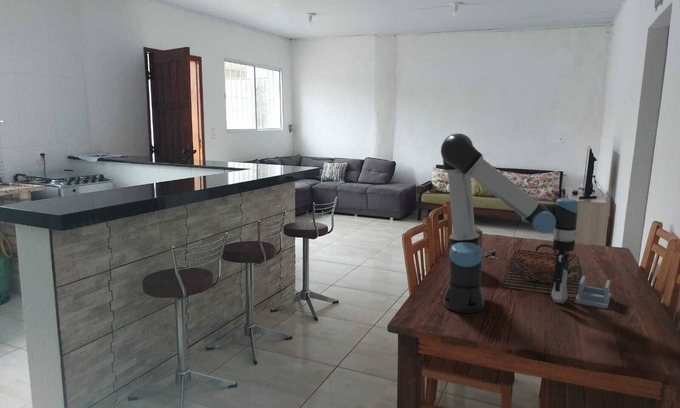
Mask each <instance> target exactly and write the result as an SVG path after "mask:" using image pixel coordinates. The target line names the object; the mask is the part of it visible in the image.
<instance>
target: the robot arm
mask: <svg viewBox="0 0 680 408" xmlns="http://www.w3.org/2000/svg"><path fill="white" fill-rule="evenodd" d="M440 154H441V157H442V163H443V170H444V172H445V173H446V174H447V177H448V179H447V180H448V190H449V199H450V201H449V202H450V214H451V225H452V233H451V234H450V235H449V246H450V247H449V249H450V250H449V272H448V286H447V289H446V291H445V294H444V296H443V300H442V301H443V303H442V304H443V306H444V307H445V308H446V309H448V310H450V311H453V312H457V313H461V314H462V313H463V314H474V313H480V312H482V311H483V310H484V309H485V300H484V296H483V292H482V289H481V288H482V287H481V280H482V263H483V262H482V261H483V257H484V256H483V255H484V254H483V249H482V248H480V239H479V234H478V233H477V232H475V226H476V225H475V215H474V200H473V189H472V179H474V180H475V181H476V182H477V183H478V184H480V185H481V186H482V187H483V188H485V189H486V190H488V192H490V193H491V194H493V195H494V196H495V197H496V198H497V199H498V200H500V201H501V202H502V203H504V204H505V205H506V206H508V207H509V208H511V209H512V211H514V212H515V213H516V214H518V215H519V216H520V217H521V221H522V222H524V223H528V224H530V225H531V226H532V227H533V228H534V229H535V230H536V231H538V232H539V233H542V234H543V233H544V234H547V233H550V232H552V231H553V236H552V237H553V239H552V240H553V242H552V248H553V250H555V251H558V252H557V253H556V256H555V258H556V261H555V266H554V267H555V268H554V275H553V279H551V281H552V283H553V287H554V292H553V298H554V299H559V300H561V294H562V278H563V272H564V269H565V270H566V271H567V272H568V274H567V276H566V285H567V281H568V275H569V274H570V270H569V262H570V261H569V258H570V252H573V251H575V246H576V244H575V243H576V241H575V239H576V236H577V235H578V231H577V222H578V214H579V212H578V211H579V210H578V209H579V204H578V203H579V202H578V201H577V200H576V199H572V198H566V197H565V198H557V199H556V202H555V203H539V202H538V201H537V200H535V199H534V197H532V196H531V195H530V194H528V193H527V192H525V191H524V190H523V189H522V188H521V187H519V186H518V185H517V184H515V183H514V182H513V181H511V180H510V178H508V177H507V176H505V175H504V174H503V173H502V172H500V171H499V170H498V169H497V168H496V167H494V166H493V165H491V164H490V162H488V161H486V159H484V155H483V154H482V153H481V152H480V151H479V150H477V148H475V146H474V144H473V141H472V140H471V138H470V137H469V136H467V135H466V134H463V133H451V134H450V135H448V136H447V137H446V138H445V140H443V142H442V145H441V148H440ZM558 279H559V280H558ZM553 298H552V299H553Z"/></svg>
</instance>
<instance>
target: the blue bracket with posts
mask: <svg viewBox="0 0 680 408" xmlns="http://www.w3.org/2000/svg"><path fill="white" fill-rule="evenodd" d="M585 284H586V276H584V275H581V279H580V281H579V284H578V293H577V295H576V297H575V301H574V303H575V304H579V305H586V306H588V307H589V306H591V307H595V308H599V309H600V308H601V309H604V310H605V309H606V310H608V307H609V304H610V300H611V297H612V296H611V293H610V284H611V280H610V279H607V280H606V282H605V286H604V288H600V287H594V286H587V285H585Z"/></svg>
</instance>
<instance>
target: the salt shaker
mask: <svg viewBox="0 0 680 408" xmlns="http://www.w3.org/2000/svg"><path fill="white" fill-rule="evenodd" d="M568 275H569V274H568V272H567V271H566V270H565V269H564V272H563V278H562V294H561V300H559V299H554V298H553V292H554V286H553V287H552V290H551V294H550V295H551V296H550V297H551V298H552V301H553V303H556V304H562V305H563V304H564V303H566V301H567V300H568V296H569V295H568V287H567V284H566V276H567V277H568ZM558 280H559V279H558Z"/></svg>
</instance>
